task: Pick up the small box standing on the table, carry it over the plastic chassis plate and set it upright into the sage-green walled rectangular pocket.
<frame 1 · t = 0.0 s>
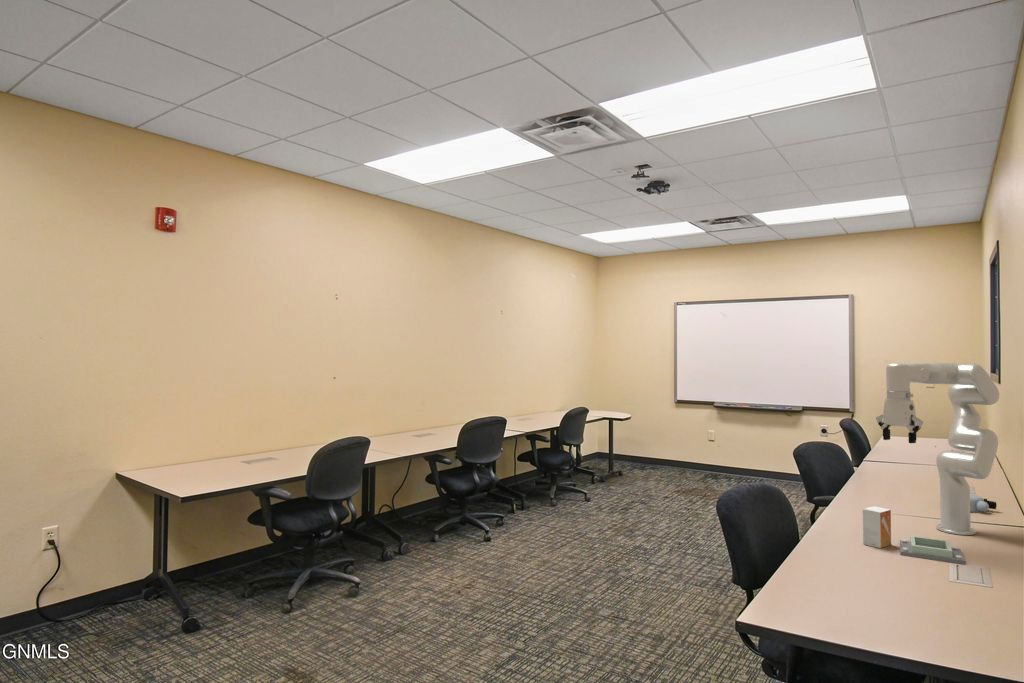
hand: (899, 441, 222), 37 cm above the table, tool pointing down, fingers open, 9 cm apart
figurine: (968, 510, 267), on the table
chassis: (930, 553, 206), on the table
small box: (877, 545, 216), on the table
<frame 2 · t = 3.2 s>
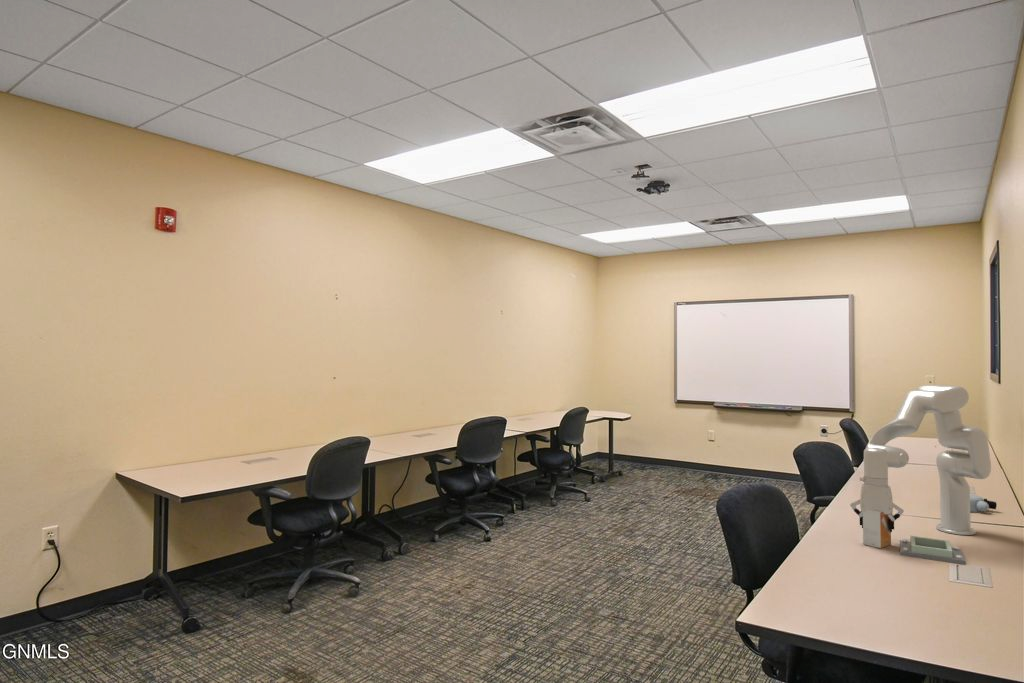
hand: (876, 529, 217), 6 cm above the table, tool pointing down, fingers closed on small box, 8 cm apart
small box: (877, 545, 216), on the table, touching gripper
everything else where it was.
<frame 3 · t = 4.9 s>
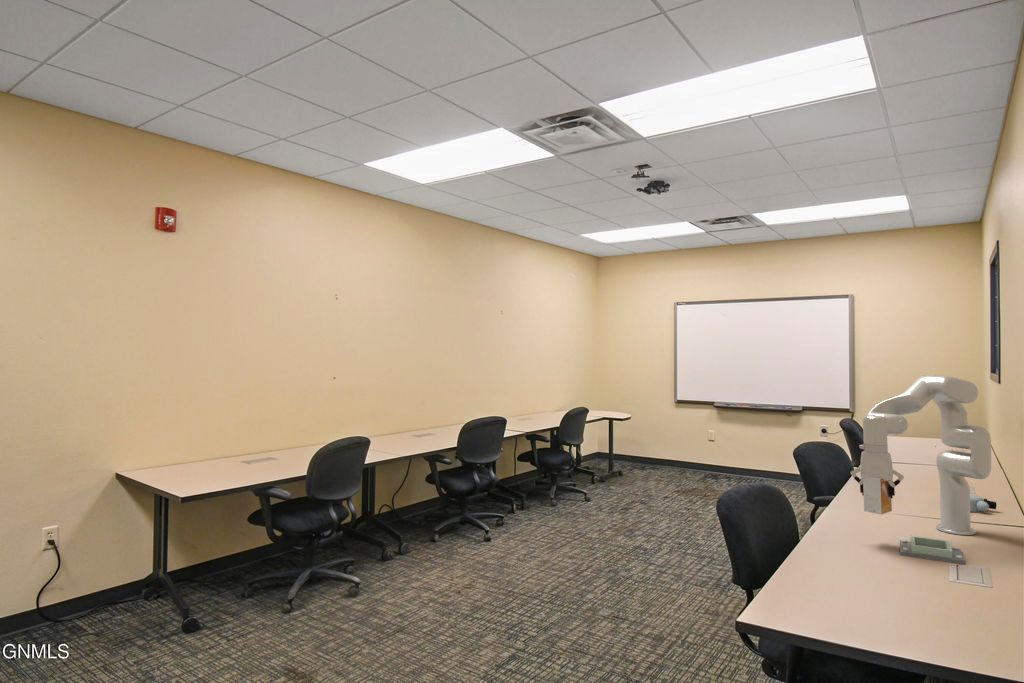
hand: (877, 495, 217), 18 cm above the table, tool pointing down, fingers closed on small box, 8 cm apart
small box: (878, 511, 217), point 12 cm above the table, touching gripper
everything else where it was.
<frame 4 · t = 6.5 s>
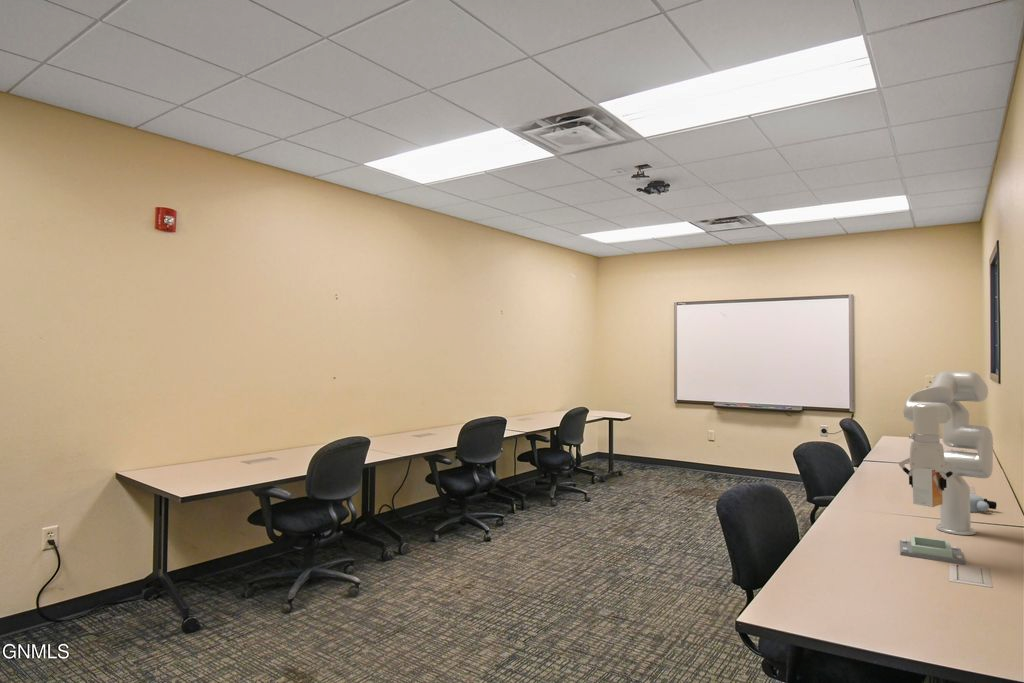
hand: (927, 488, 208), 23 cm above the table, tool pointing down, fingers closed on small box, 8 cm apart
small box: (928, 504, 207), point 17 cm above the table, touching gripper
everything else where it was.
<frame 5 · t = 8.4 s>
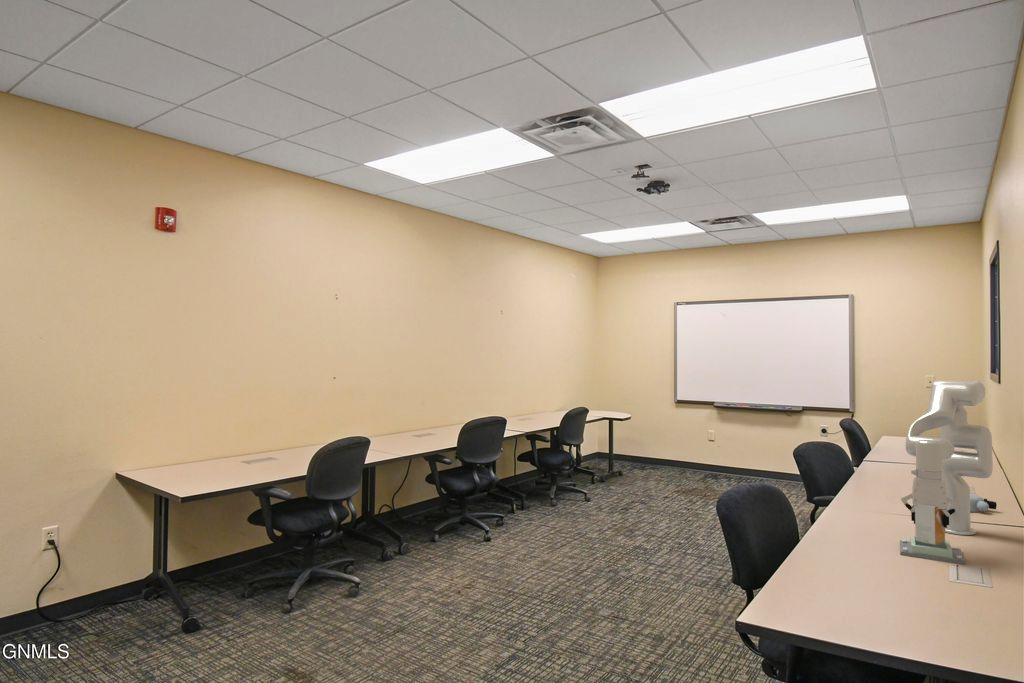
hand: (930, 524, 207), 10 cm above the table, tool pointing down, fingers closed on small box, 8 cm apart
small box: (930, 541, 206), point 4 cm above the table, touching gripper
everything else where it was.
when the fingers open (8 cm above the table, at t = 9.8 s): small box drops 1 cm, resting on chassis.
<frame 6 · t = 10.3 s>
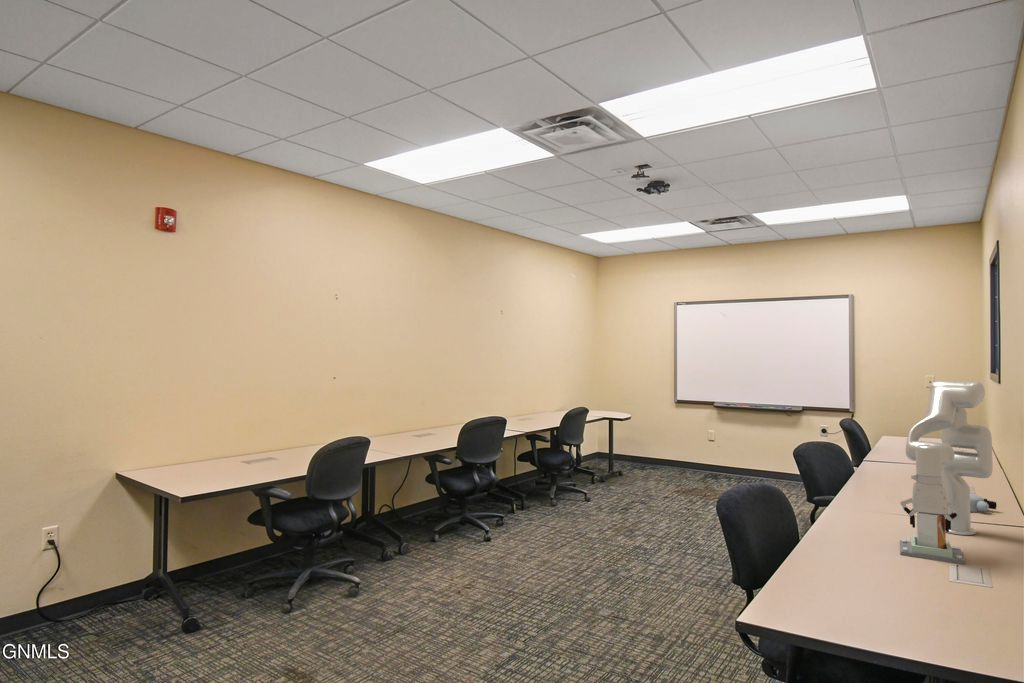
hand: (930, 529, 207), 9 cm above the table, tool pointing down, fingers open, 9 cm apart
small box: (931, 550, 206), point 1 cm above the table, touching chassis
everything else where it was.
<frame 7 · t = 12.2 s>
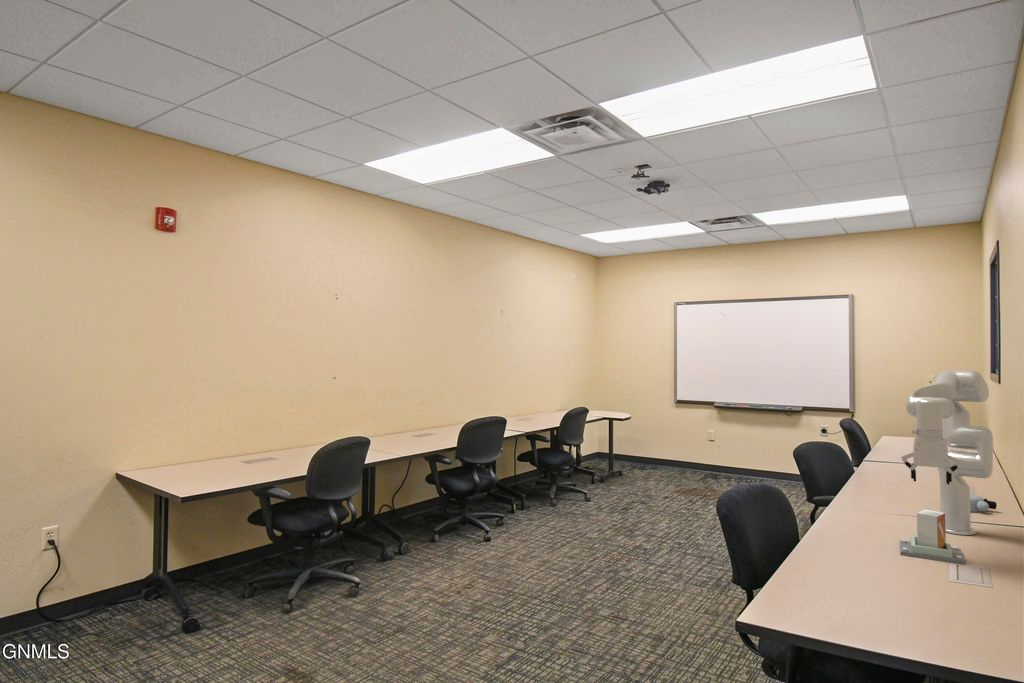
hand: (931, 482, 209), 25 cm above the table, tool pointing down, fingers open, 9 cm apart
nothing on the table moved.
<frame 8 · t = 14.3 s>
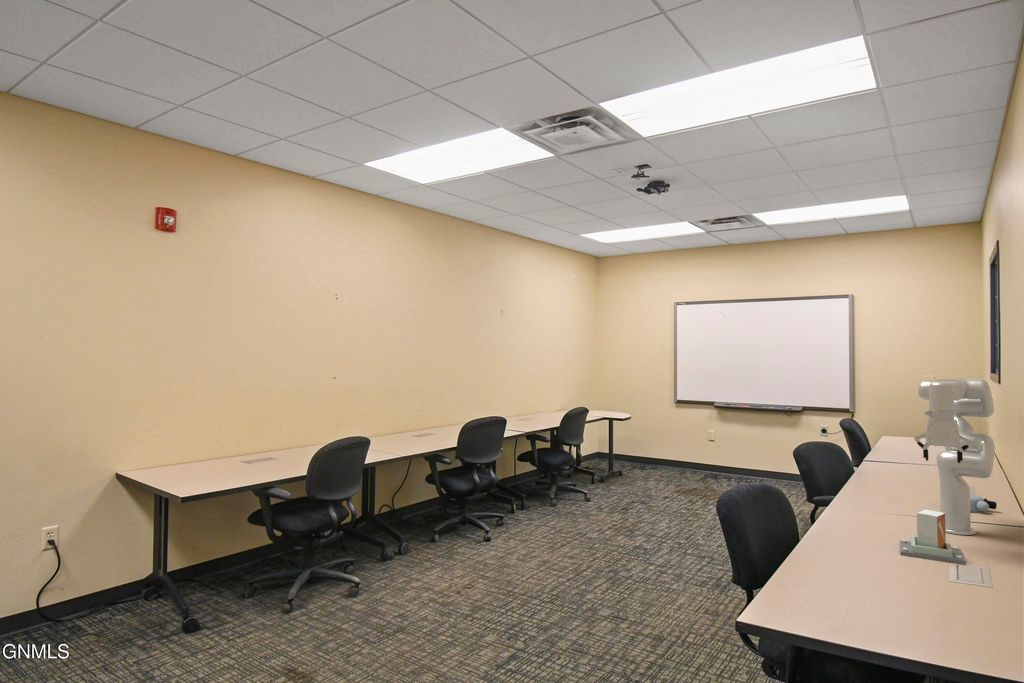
hand: (942, 461, 219), 30 cm above the table, tool pointing down, fingers open, 9 cm apart
nothing on the table moved.
at the end: small box 0.3 cm off-centre on the chassis, point 1.0 cm above the chassis's base; small box tilted 0°; the gripper is holding nothing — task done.
